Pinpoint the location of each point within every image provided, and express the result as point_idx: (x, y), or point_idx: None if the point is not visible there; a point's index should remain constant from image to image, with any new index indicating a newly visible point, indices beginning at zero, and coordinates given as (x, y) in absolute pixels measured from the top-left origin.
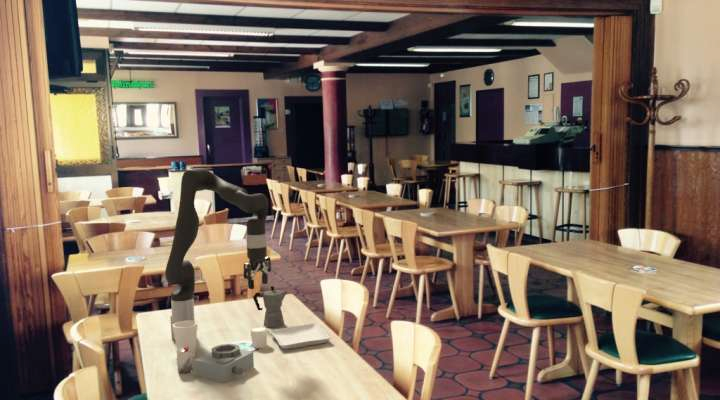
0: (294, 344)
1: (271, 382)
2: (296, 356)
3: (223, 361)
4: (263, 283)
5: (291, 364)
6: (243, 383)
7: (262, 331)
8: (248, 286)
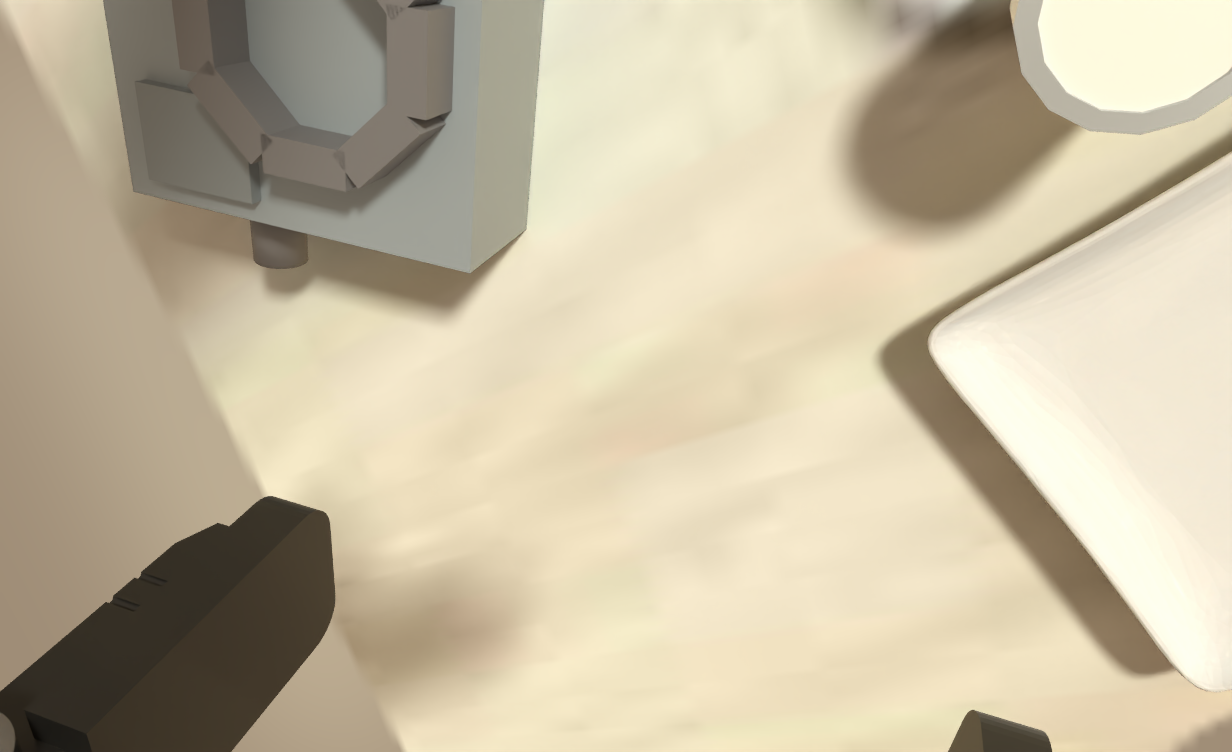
0: (999, 434)
1: (368, 441)
2: (835, 463)
3: (161, 150)
4: (954, 742)
5: (667, 472)
6: (279, 285)
7: (1050, 109)
8: (173, 556)
